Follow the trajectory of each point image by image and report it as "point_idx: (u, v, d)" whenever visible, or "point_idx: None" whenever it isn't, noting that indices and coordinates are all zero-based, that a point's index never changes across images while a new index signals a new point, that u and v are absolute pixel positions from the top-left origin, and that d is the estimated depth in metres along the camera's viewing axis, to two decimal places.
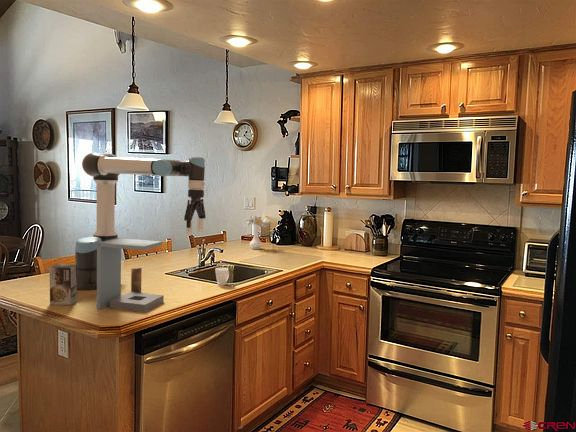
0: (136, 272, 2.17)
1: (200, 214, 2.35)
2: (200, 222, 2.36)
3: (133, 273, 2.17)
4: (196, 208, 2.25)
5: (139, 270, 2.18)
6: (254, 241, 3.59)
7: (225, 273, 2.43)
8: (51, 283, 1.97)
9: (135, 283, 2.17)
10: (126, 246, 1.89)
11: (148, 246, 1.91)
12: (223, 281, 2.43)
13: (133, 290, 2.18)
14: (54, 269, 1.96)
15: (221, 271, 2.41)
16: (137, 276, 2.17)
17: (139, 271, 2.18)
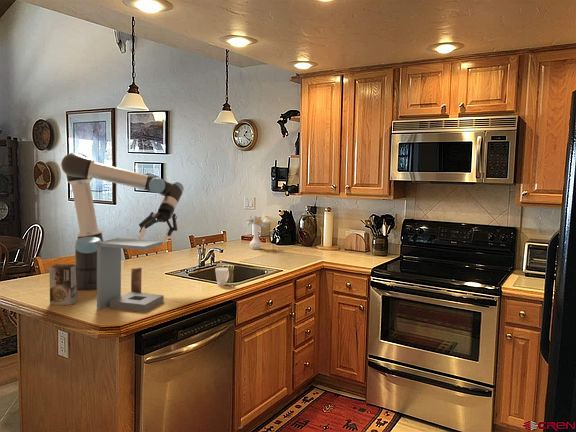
0: (136, 272, 2.17)
1: (148, 225, 2.38)
2: (144, 231, 2.35)
3: (133, 273, 2.17)
4: None
5: (139, 270, 2.18)
6: (254, 241, 3.59)
7: (225, 273, 2.43)
8: (51, 283, 1.97)
9: (135, 283, 2.17)
10: (126, 246, 1.89)
11: (148, 246, 1.91)
12: (223, 281, 2.43)
13: (133, 290, 2.18)
14: (54, 269, 1.96)
15: (221, 271, 2.41)
16: (137, 276, 2.17)
17: (139, 271, 2.18)
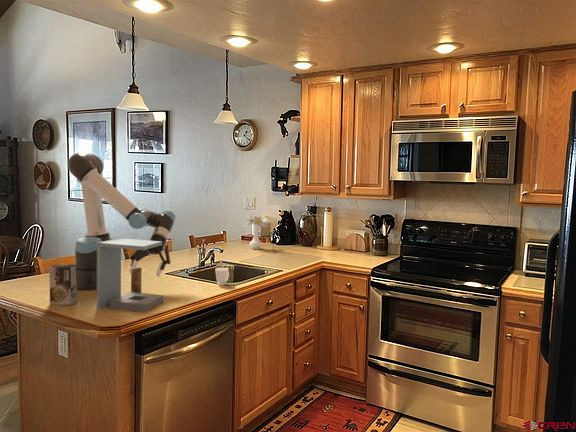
0: (136, 272, 2.17)
1: (140, 258, 2.29)
2: (135, 265, 2.27)
3: (133, 273, 2.17)
4: None
5: (139, 270, 2.18)
6: (254, 241, 3.59)
7: (225, 273, 2.43)
8: (51, 283, 1.97)
9: (135, 283, 2.17)
10: (126, 246, 1.89)
11: (148, 246, 1.91)
12: (223, 281, 2.43)
13: (133, 290, 2.18)
14: (54, 269, 1.97)
15: (221, 271, 2.41)
16: (137, 276, 2.17)
17: (139, 271, 2.18)
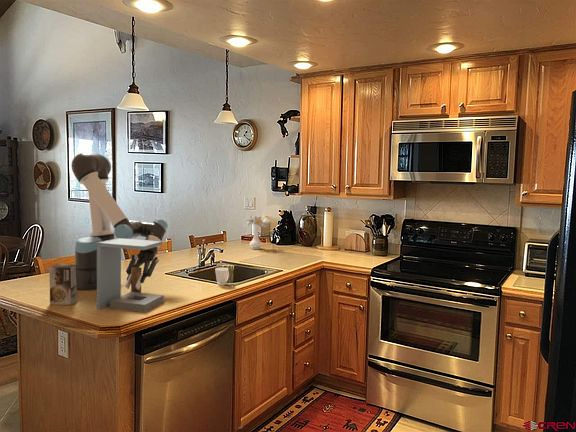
0: (136, 272, 2.17)
1: None
2: None
3: (133, 273, 2.17)
4: None
5: (139, 270, 2.18)
6: (254, 241, 3.59)
7: (225, 273, 2.43)
8: (51, 283, 1.97)
9: (135, 283, 2.17)
10: (126, 246, 1.89)
11: (148, 246, 1.91)
12: (223, 281, 2.43)
13: (133, 290, 2.18)
14: (54, 269, 1.96)
15: (221, 271, 2.41)
16: (137, 276, 2.17)
17: (139, 271, 2.18)
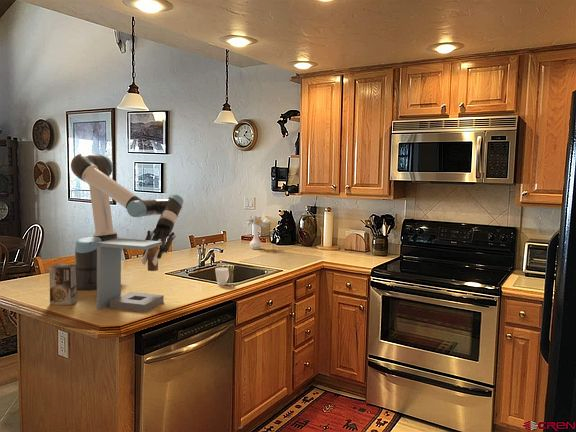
0: (153, 247, 2.10)
1: None
2: (147, 254, 2.12)
3: (150, 248, 2.10)
4: None
5: None
6: (254, 241, 3.59)
7: (225, 273, 2.43)
8: (51, 283, 1.97)
9: (151, 258, 2.10)
10: (126, 246, 1.89)
11: (148, 246, 1.91)
12: (223, 281, 2.43)
13: (150, 266, 2.10)
14: (54, 269, 1.96)
15: (221, 271, 2.41)
16: (154, 251, 2.10)
17: None
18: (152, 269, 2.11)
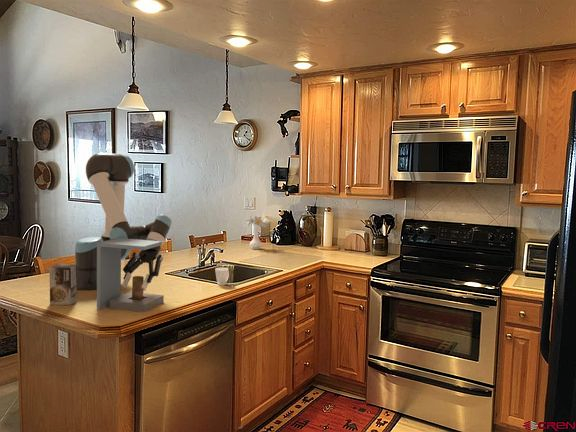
0: (138, 281, 1.99)
1: (133, 269, 2.05)
2: (128, 277, 2.02)
3: (134, 282, 1.99)
4: None
5: (141, 279, 2.00)
6: (254, 241, 3.59)
7: (225, 273, 2.43)
8: (51, 283, 1.97)
9: (136, 293, 2.00)
10: (126, 246, 1.89)
11: (148, 246, 1.91)
12: (223, 281, 2.43)
13: None
14: (54, 269, 1.96)
15: (221, 271, 2.41)
16: (139, 286, 2.00)
17: (141, 280, 2.00)
18: None
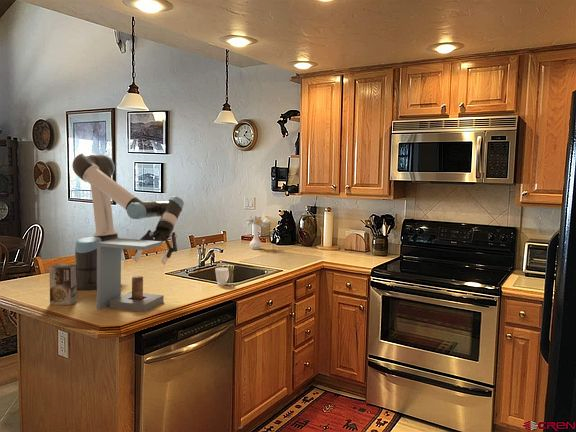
0: (137, 281, 1.99)
1: None
2: (140, 252, 2.14)
3: (134, 282, 1.99)
4: None
5: (140, 279, 2.00)
6: (254, 241, 3.59)
7: (225, 273, 2.43)
8: (51, 283, 1.97)
9: (136, 293, 2.00)
10: (126, 246, 1.89)
11: (148, 246, 1.91)
12: (223, 281, 2.43)
13: None
14: (54, 269, 1.96)
15: (221, 271, 2.41)
16: (138, 286, 2.00)
17: (140, 280, 2.00)
18: None
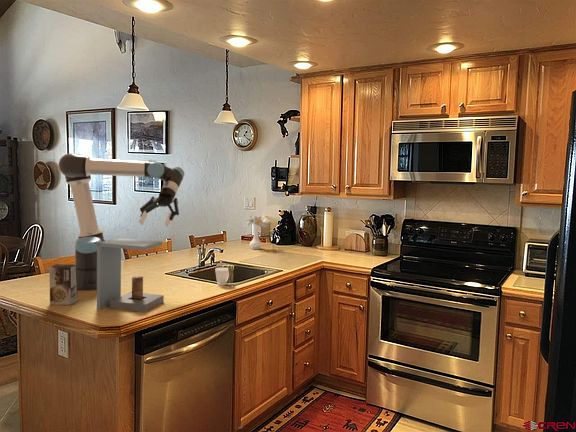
0: (137, 281, 1.99)
1: (149, 210, 2.35)
2: (145, 216, 2.32)
3: (134, 282, 1.99)
4: None
5: (140, 279, 2.00)
6: (254, 241, 3.59)
7: (225, 273, 2.43)
8: (51, 283, 1.97)
9: (136, 293, 2.00)
10: (126, 246, 1.89)
11: (148, 246, 1.91)
12: (223, 281, 2.43)
13: None
14: (54, 269, 1.96)
15: (221, 271, 2.41)
16: (138, 286, 2.00)
17: (140, 280, 2.00)
18: None
